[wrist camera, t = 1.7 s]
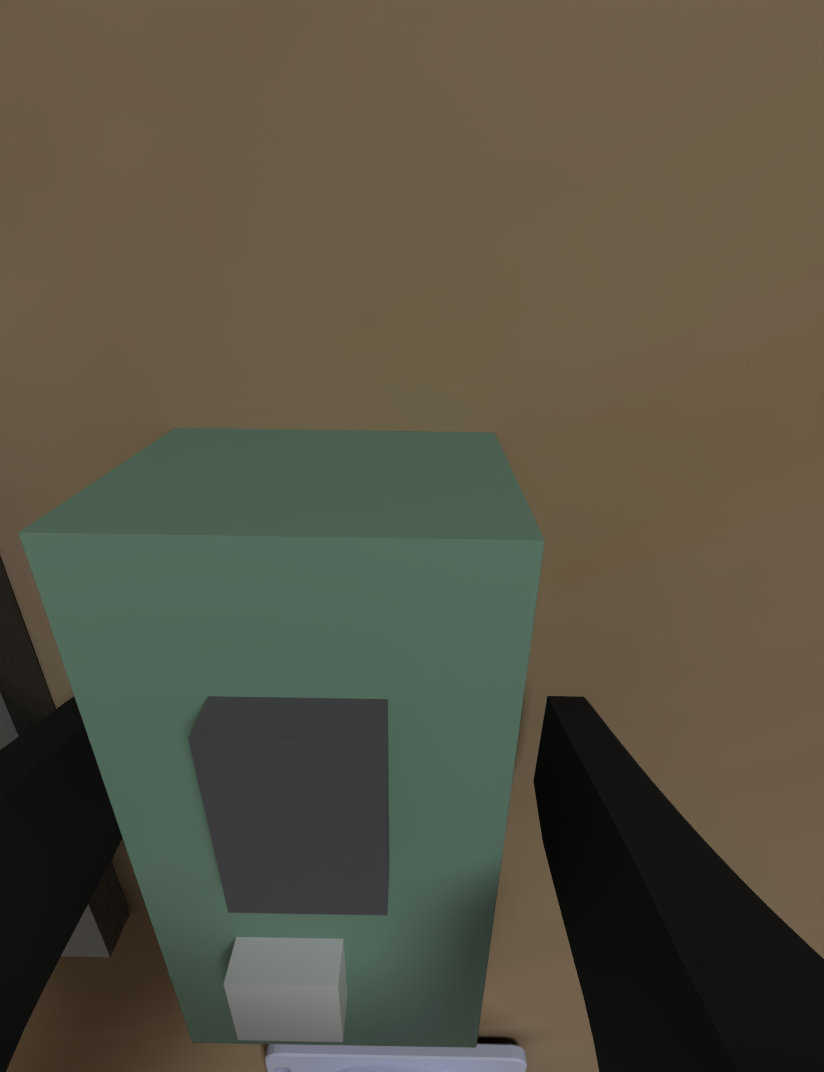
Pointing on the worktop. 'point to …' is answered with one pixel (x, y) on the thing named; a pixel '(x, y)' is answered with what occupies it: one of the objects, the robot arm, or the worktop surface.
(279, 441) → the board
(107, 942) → the plate
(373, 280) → the worktop surface
